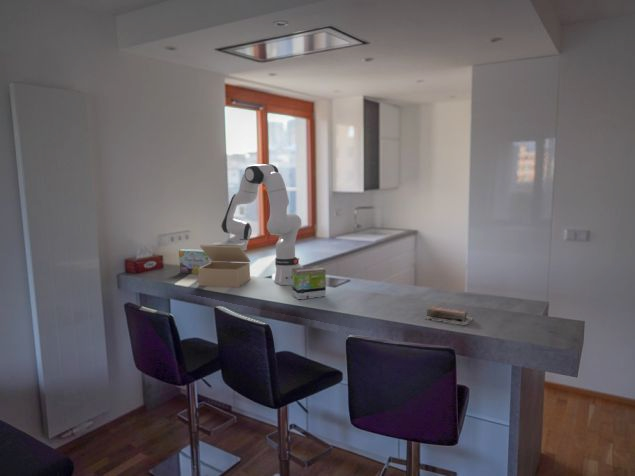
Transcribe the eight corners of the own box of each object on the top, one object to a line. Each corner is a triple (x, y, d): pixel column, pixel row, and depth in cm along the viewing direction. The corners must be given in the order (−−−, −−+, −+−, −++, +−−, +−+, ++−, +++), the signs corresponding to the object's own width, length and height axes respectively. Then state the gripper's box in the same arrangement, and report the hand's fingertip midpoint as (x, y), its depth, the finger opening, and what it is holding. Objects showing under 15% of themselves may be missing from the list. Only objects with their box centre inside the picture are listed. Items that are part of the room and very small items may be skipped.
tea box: (298, 300, 234) (297, 271, 232) (292, 295, 243) (291, 267, 241) (326, 297, 239) (325, 268, 237) (319, 292, 249) (318, 265, 246)
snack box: (179, 273, 300) (178, 250, 298) (184, 271, 306) (183, 248, 303) (209, 274, 294) (207, 251, 292) (213, 272, 299) (212, 249, 297)
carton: (250, 279, 280) (249, 263, 278) (238, 287, 262) (237, 269, 261) (213, 277, 285) (212, 261, 284) (199, 285, 268) (198, 268, 266)
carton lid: (250, 262, 278) (250, 260, 279) (239, 247, 263) (239, 245, 263) (212, 261, 284) (212, 259, 285) (199, 246, 268) (200, 244, 269)
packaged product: (424, 309, 202) (432, 303, 210) (424, 320, 202) (432, 313, 211) (466, 316, 192) (473, 309, 200) (466, 327, 193) (472, 320, 201)
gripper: (217, 239, 286) (206, 242, 273) (248, 239, 281) (239, 243, 268) (217, 249, 287) (207, 253, 274) (249, 250, 282) (240, 254, 269)
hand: (223, 248), depth 271 cm, fingers closed, pressing on carton lid
